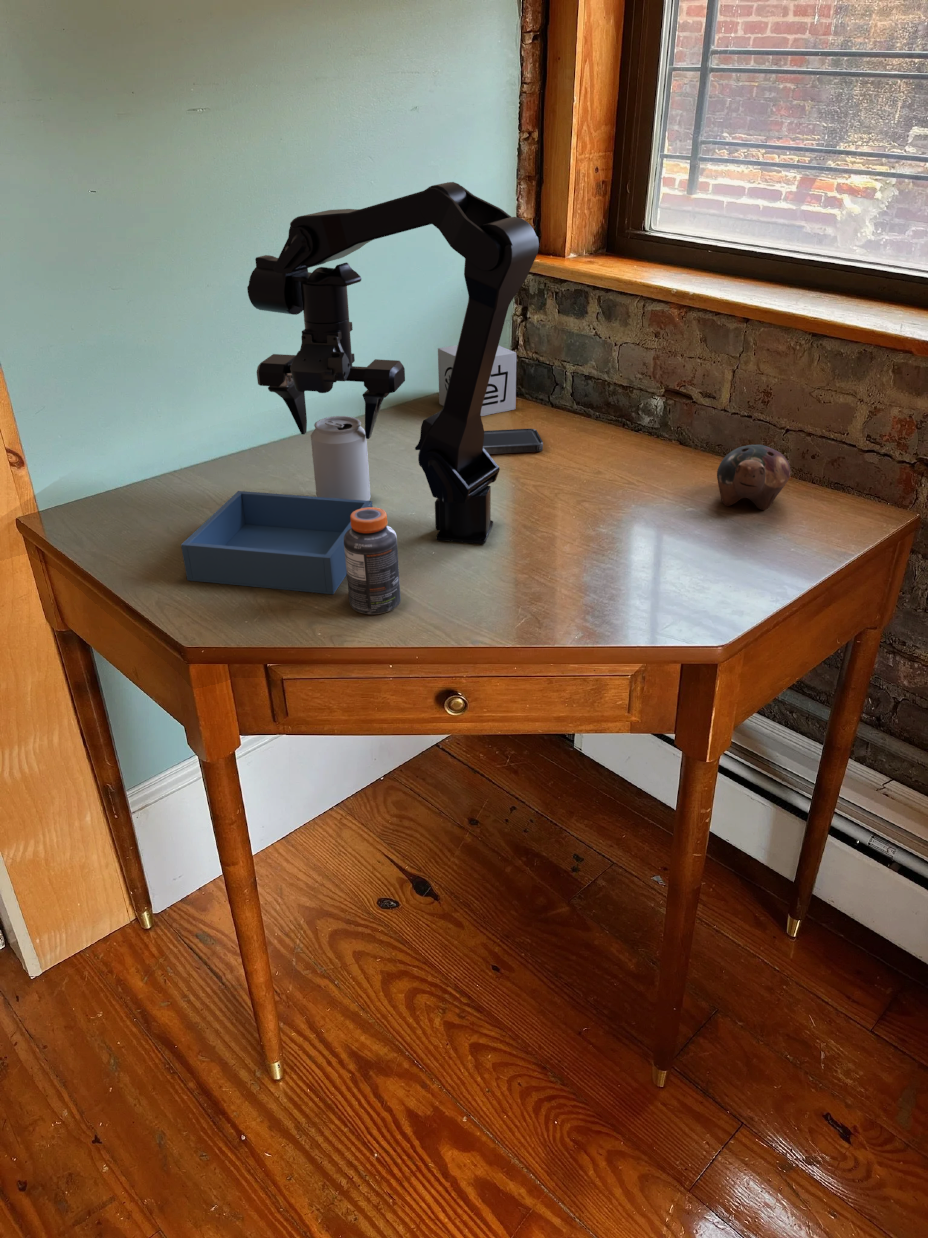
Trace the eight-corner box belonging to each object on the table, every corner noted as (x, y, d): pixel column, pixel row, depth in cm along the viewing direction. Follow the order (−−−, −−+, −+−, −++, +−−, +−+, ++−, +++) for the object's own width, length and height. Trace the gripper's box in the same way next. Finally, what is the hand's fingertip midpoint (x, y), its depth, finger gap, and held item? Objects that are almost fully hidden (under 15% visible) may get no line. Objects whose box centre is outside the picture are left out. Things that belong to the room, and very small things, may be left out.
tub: (374, 534, 126) (372, 500, 124) (333, 594, 112) (329, 557, 110) (242, 523, 130) (238, 490, 127) (187, 580, 116) (180, 544, 113)
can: (362, 516, 131) (355, 432, 125) (310, 512, 132) (301, 429, 126) (377, 495, 137) (372, 414, 131) (327, 491, 139) (320, 411, 133)
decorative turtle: (711, 518, 129) (715, 461, 126) (718, 484, 142) (722, 430, 139) (786, 523, 126) (793, 464, 123) (787, 487, 139) (793, 433, 136)
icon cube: (515, 409, 170) (516, 352, 165) (467, 418, 166) (466, 361, 161) (486, 394, 178) (486, 340, 172) (439, 403, 173) (437, 348, 168)
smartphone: (544, 444, 151) (449, 449, 149) (544, 451, 151) (449, 456, 150) (535, 427, 158) (444, 432, 156) (535, 434, 158) (444, 438, 157)
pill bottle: (401, 590, 113) (396, 501, 107) (400, 615, 108) (395, 523, 102) (350, 591, 113) (343, 502, 107) (347, 616, 108) (339, 525, 102)
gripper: (232, 330, 117) (247, 452, 125) (378, 337, 113) (385, 462, 121) (267, 309, 126) (279, 423, 134) (403, 315, 123) (408, 432, 131)
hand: (336, 435), depth 130 cm, fingers open, 9 cm apart
